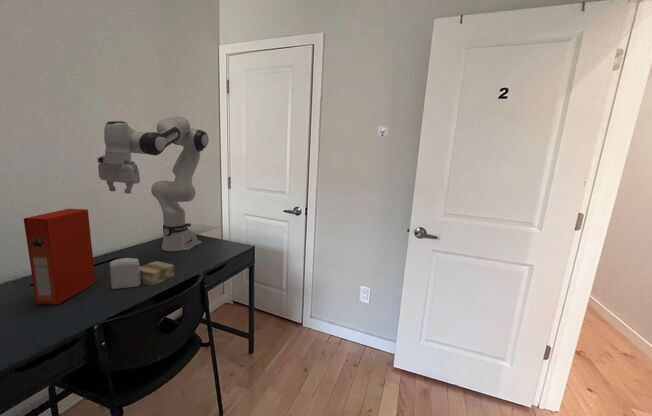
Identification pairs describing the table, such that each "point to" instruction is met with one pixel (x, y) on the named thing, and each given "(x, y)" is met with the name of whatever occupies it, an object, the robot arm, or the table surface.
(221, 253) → the table surface
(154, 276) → the oak box
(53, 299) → the file binder
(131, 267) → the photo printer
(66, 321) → the table surface
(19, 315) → the table surface
